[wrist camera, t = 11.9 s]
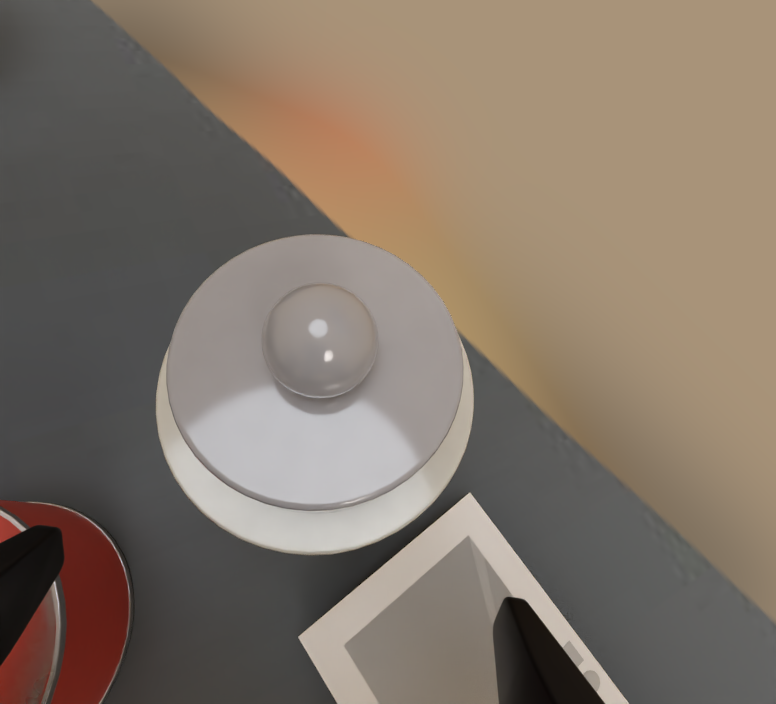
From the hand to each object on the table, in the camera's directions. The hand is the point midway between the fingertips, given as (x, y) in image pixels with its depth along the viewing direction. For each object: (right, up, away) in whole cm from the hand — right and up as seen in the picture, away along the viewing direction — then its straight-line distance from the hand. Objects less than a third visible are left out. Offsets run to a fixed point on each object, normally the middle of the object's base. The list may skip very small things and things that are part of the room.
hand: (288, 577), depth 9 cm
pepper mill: (-1, 0, +9) cm, 9 cm away
